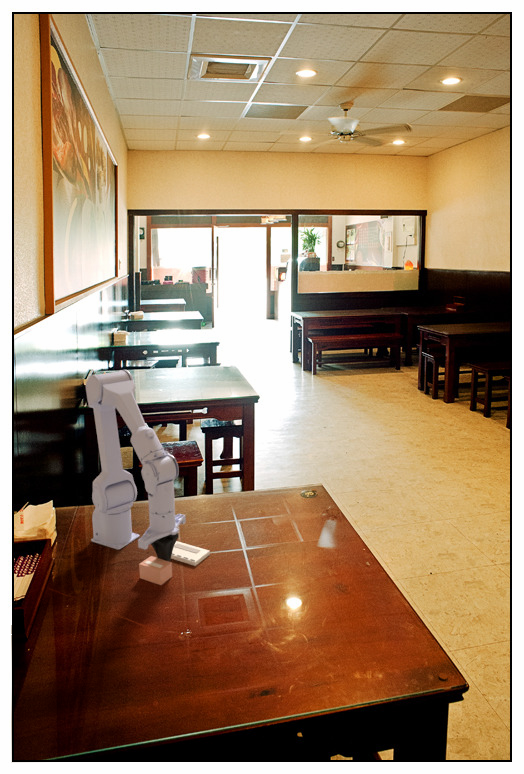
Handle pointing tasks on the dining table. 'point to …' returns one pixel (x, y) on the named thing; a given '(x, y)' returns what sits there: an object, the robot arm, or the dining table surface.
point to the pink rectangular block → (155, 570)
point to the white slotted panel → (189, 553)
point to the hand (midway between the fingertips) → (164, 563)
